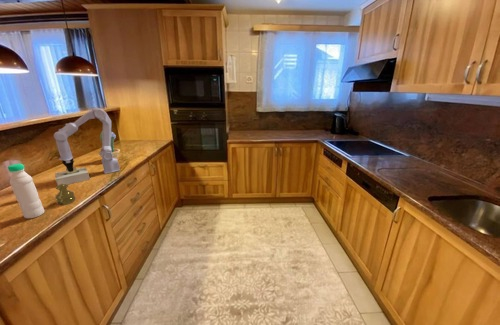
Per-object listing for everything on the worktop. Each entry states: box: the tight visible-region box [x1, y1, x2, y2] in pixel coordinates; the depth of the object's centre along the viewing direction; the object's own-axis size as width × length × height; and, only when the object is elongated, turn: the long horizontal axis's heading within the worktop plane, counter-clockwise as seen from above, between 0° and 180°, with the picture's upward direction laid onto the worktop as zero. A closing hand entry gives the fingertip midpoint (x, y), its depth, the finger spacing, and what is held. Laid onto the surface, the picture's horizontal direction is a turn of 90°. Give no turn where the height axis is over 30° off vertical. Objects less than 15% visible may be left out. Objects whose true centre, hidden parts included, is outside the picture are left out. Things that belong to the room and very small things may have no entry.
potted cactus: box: [98, 130, 121, 160], centre depth 175 cm, size 15×15×25 cm
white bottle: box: [7, 163, 45, 220], centre depth 97 cm, size 7×7×25 cm
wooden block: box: [65, 166, 77, 174], centre depth 139 cm, size 5×2×5 cm, turn 132°
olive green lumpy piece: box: [55, 184, 76, 206], centre depth 111 cm, size 7×7×10 cm
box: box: [54, 166, 91, 186], centre depth 140 cm, size 16×14×5 cm
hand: (71, 171), depth 138 cm, fingers closed on wooden block, 2 cm apart
